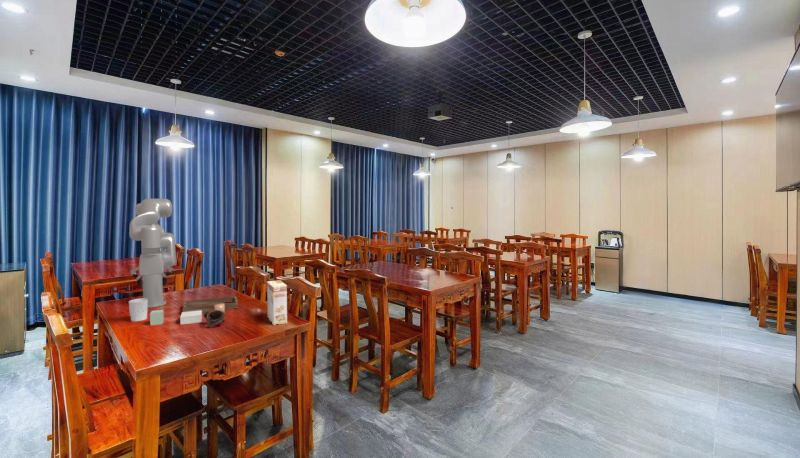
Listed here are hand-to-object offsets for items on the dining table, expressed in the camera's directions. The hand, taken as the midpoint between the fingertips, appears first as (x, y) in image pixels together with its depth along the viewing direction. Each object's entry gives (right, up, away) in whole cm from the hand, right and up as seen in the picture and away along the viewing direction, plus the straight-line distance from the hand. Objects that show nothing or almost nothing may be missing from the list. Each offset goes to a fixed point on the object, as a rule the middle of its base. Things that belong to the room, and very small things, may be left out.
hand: (152, 286), depth 175 cm
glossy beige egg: (+23, -18, +20) cm, 35 cm away
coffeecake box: (+58, -19, +9) cm, 62 cm away
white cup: (-13, -19, +9) cm, 25 cm away
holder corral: (+13, -17, +31) cm, 37 cm away
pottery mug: (+29, -20, +2) cm, 35 cm away
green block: (0, -19, +3) cm, 19 cm away
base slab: (+15, -19, +8) cm, 25 cm away
